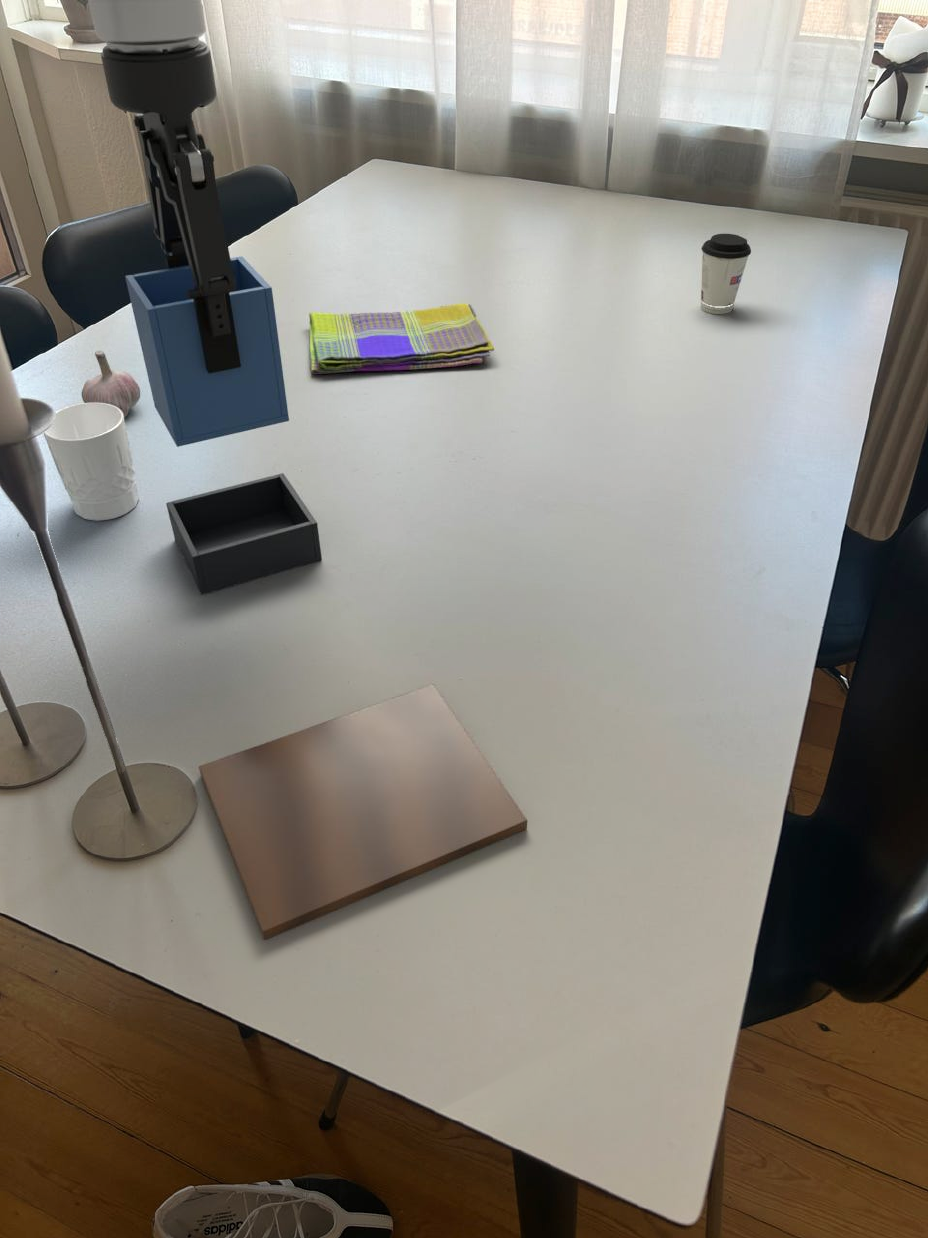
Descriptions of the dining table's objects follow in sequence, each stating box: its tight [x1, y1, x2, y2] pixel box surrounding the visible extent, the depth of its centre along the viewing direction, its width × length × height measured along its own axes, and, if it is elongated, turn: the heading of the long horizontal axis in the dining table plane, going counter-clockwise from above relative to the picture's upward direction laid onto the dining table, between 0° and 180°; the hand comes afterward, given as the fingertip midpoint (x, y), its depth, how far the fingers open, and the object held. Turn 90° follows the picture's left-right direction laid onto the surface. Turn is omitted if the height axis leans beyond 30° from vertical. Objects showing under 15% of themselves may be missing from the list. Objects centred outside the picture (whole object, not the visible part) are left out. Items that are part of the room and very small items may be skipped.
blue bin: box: [124, 255, 290, 448], centre depth 83 cm, size 10×8×12 cm
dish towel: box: [308, 302, 495, 375], centre depth 133 cm, size 18×24×3 cm
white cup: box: [43, 402, 140, 522], centre depth 101 cm, size 8×8×10 cm
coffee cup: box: [700, 233, 752, 315], centre depth 140 cm, size 7×7×10 cm
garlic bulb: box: [81, 350, 141, 419], centre depth 117 cm, size 8×7×8 cm
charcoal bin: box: [165, 472, 323, 596], centre depth 96 cm, size 12×10×4 cm
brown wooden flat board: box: [198, 683, 528, 940], centre depth 72 cm, size 20×16×1 cm
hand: (209, 347), depth 82 cm, fingers closed on blue bin, 8 cm apart
